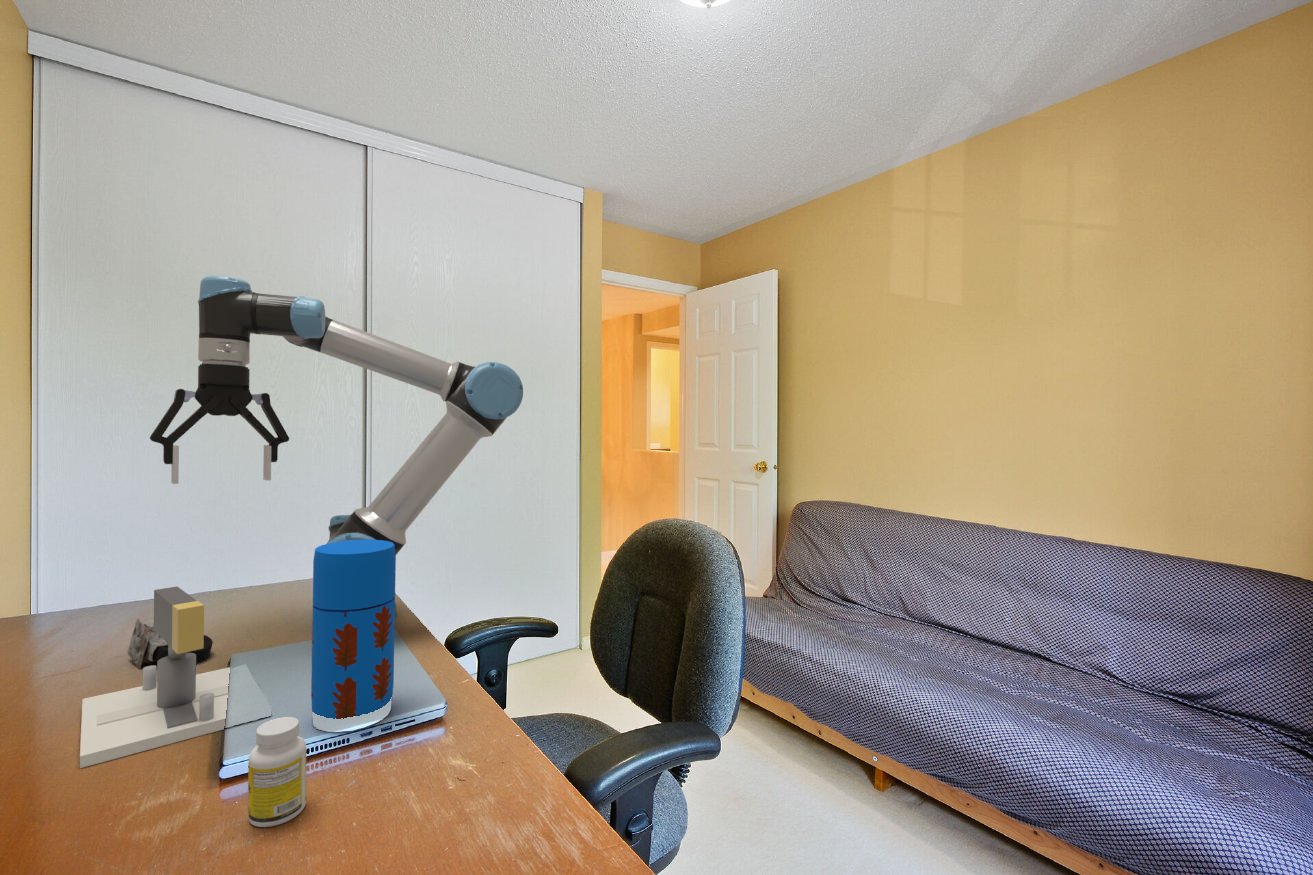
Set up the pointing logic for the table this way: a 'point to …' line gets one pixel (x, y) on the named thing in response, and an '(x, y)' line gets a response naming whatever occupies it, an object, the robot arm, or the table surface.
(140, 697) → the base plate
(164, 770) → the table surface
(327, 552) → the thermos
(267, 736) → the supplement bottle
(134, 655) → the caster wheel
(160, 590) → the grey yellow rectangular block
